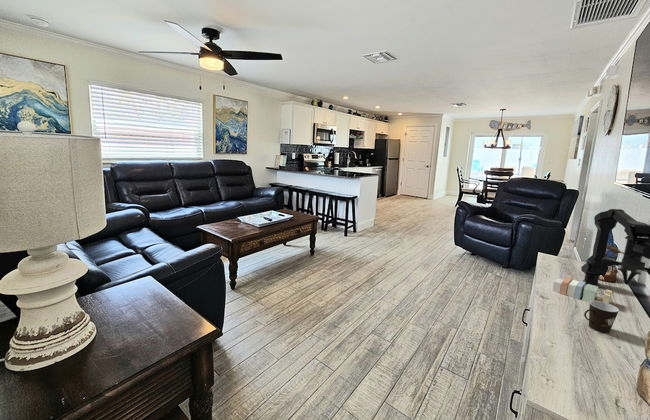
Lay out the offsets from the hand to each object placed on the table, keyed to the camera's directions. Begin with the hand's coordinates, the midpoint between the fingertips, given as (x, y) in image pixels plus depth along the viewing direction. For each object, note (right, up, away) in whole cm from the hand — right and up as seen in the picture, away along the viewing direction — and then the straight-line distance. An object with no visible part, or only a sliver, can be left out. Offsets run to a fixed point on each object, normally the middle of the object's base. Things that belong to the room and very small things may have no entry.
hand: (626, 284), depth 134 cm
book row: (-13, -9, +17) cm, 23 cm away
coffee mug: (-26, -15, -13) cm, 33 cm away
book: (-7, -10, +11) cm, 16 cm away
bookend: (-4, -11, +7) cm, 14 cm away
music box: (+22, -5, +36) cm, 43 cm away
